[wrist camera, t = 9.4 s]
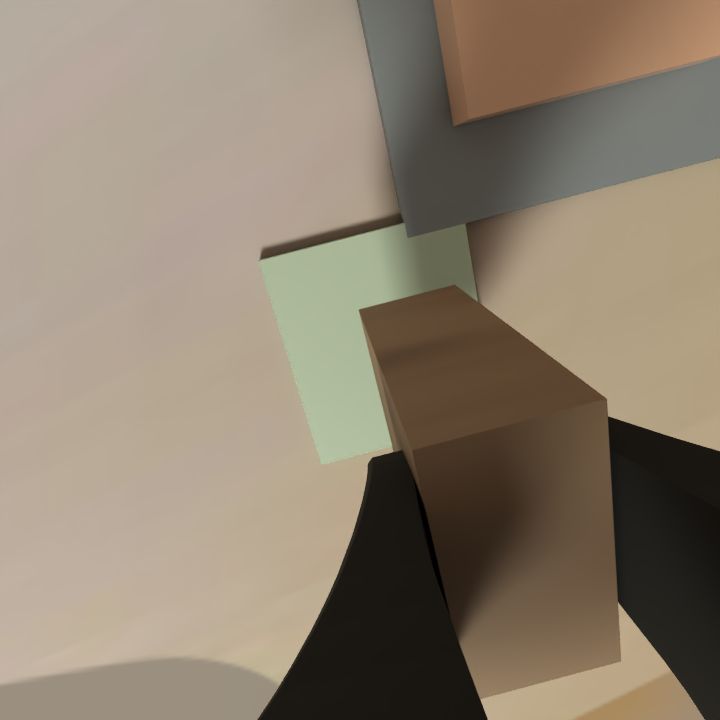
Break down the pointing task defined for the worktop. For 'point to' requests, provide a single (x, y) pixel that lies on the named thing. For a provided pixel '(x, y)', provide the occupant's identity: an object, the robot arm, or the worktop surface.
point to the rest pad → (353, 321)
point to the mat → (522, 129)
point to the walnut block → (503, 486)
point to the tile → (564, 47)
